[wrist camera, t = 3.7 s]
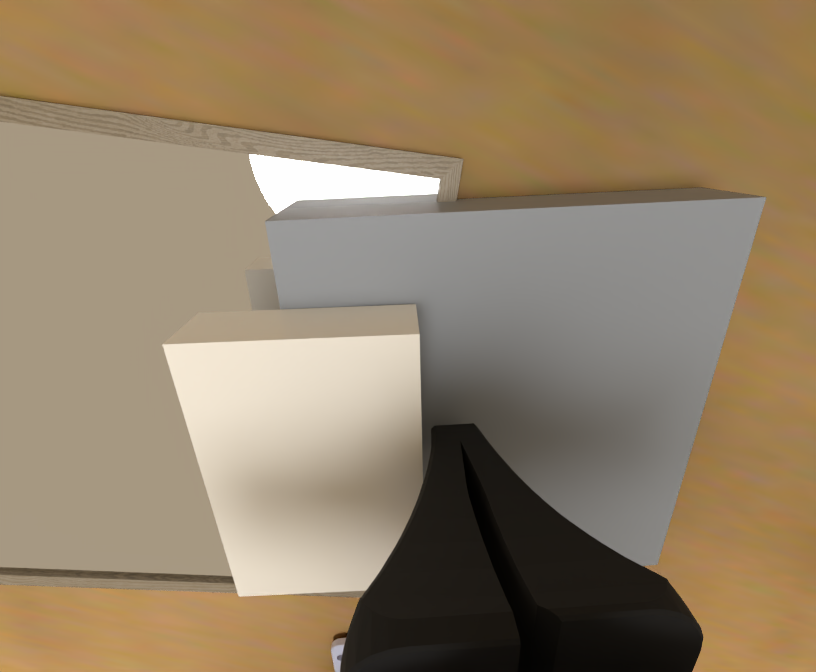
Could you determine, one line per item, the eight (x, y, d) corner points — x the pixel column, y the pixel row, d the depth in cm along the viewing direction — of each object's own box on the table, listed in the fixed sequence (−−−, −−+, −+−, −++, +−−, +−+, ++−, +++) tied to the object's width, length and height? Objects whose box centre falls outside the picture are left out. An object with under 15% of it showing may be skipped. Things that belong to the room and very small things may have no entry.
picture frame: (458, 158, 13) (-653, 6, 11) (463, 159, 12) (-753, -7, 10) (390, 578, 21) (-261, 552, 18) (391, 598, 20) (-295, 573, 17)
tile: (421, 535, 16) (425, 587, 14) (256, 542, 16) (238, 596, 14) (415, 304, 12) (419, 333, 10) (197, 312, 12) (162, 344, 10)
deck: (625, 514, 19) (657, 564, 17) (335, 534, 19) (329, 588, 17) (702, 187, 13) (766, 197, 11) (285, 207, 13) (264, 221, 11)
